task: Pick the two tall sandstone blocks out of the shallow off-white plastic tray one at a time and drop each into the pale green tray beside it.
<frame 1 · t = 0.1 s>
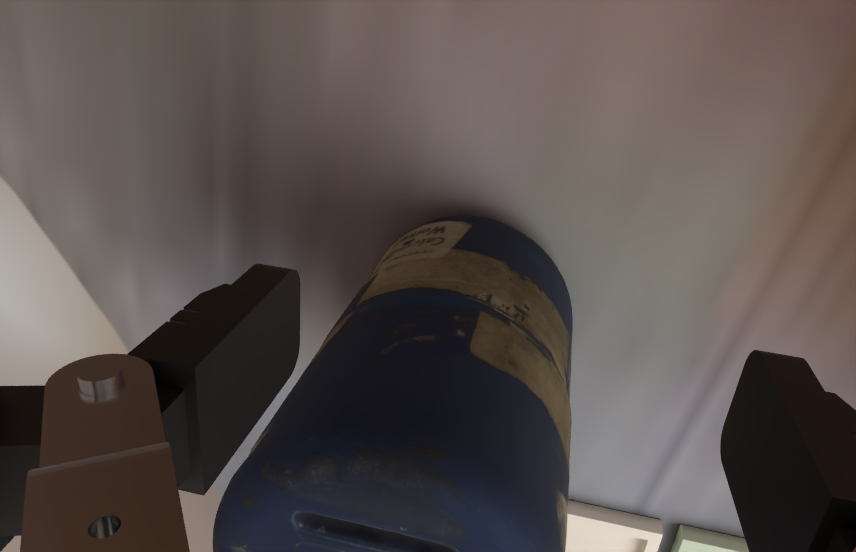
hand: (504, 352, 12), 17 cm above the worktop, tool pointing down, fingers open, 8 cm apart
canister: (471, 297, 31), on the worktop
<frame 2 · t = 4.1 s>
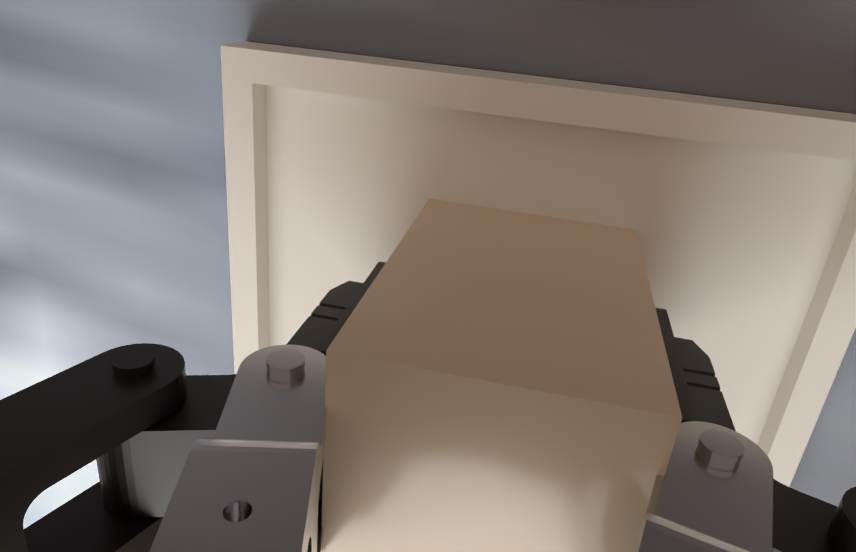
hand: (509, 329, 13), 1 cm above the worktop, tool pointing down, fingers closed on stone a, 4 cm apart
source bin: (492, 446, 16), on the worktop
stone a: (515, 305, 14), resting on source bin, touching gripper
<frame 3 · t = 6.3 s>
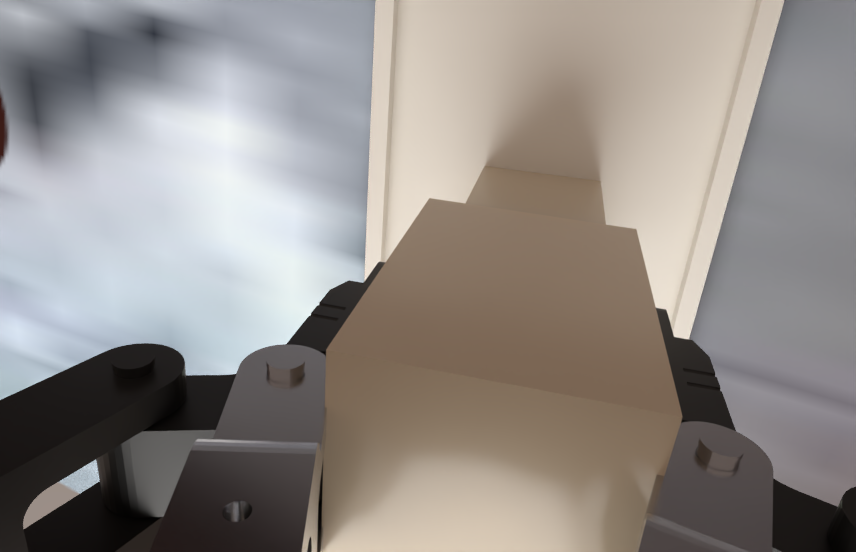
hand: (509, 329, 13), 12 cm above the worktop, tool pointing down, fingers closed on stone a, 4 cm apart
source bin: (546, 142, 23), on the worktop
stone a: (515, 304, 14), point 11 cm above the worktop, touching gripper
stone b: (533, 227, 23), resting on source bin
when the fingers open (3 cm above the worktop, at t = 8.8 s): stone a drops 1 cm, resting on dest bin.
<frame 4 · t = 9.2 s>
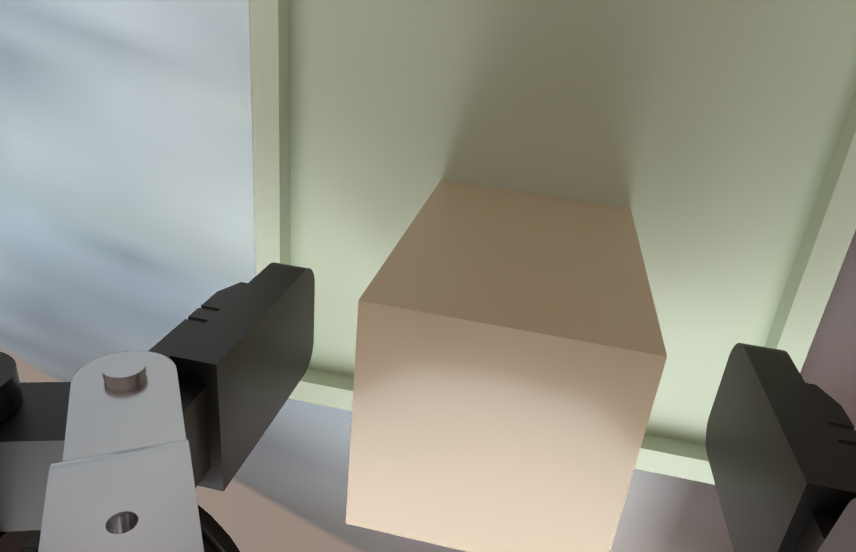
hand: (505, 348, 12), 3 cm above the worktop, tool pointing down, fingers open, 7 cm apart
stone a: (519, 279, 15), resting on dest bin
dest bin: (541, 143, 14), on the worktop
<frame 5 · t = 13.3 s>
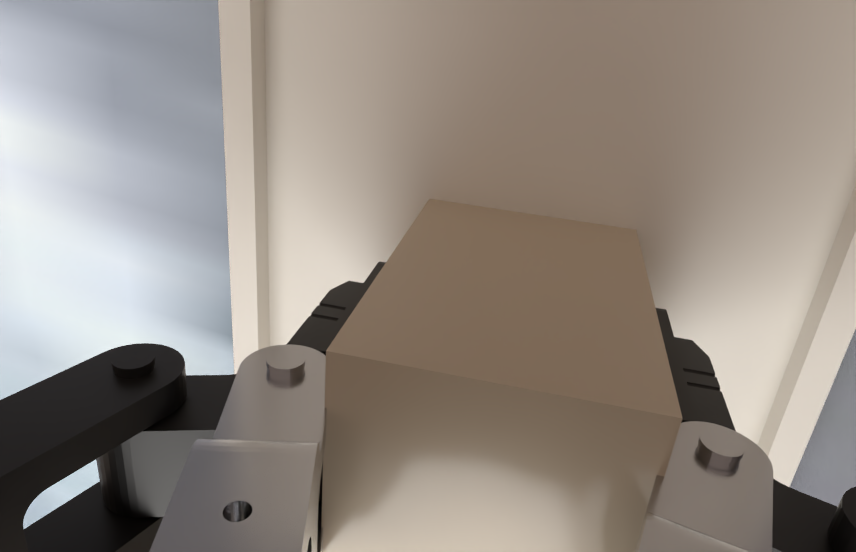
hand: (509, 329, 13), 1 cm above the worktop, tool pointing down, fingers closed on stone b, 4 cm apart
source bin: (539, 158, 13), on the worktop
stone b: (515, 305, 14), resting on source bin, touching gripper
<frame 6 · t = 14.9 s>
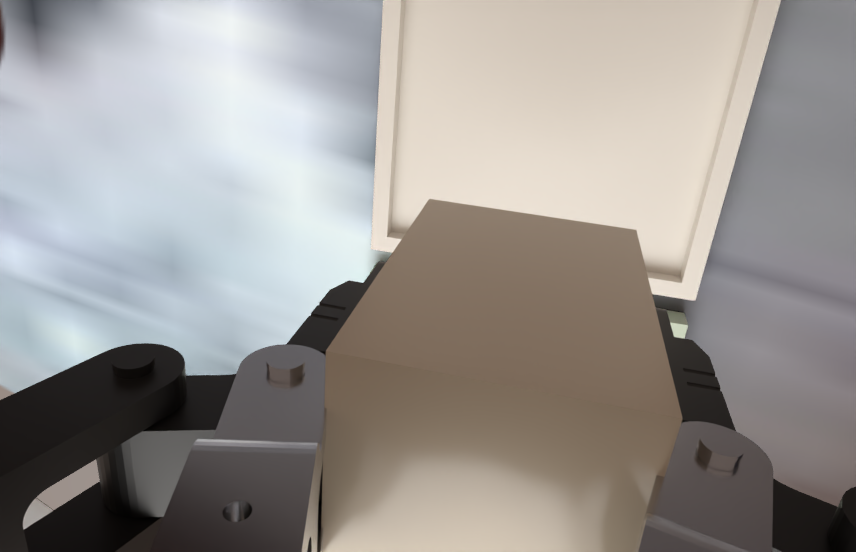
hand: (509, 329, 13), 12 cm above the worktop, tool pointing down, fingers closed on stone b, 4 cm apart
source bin: (566, 28, 22), on the worktop
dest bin: (501, 431, 29), on the worktop
stone b: (515, 305, 14), point 11 cm above the worktop, touching gripper
when the fingers open (3 cm above the worktop, at t = 16.6 s): stone b drops 1 cm, resting on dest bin.
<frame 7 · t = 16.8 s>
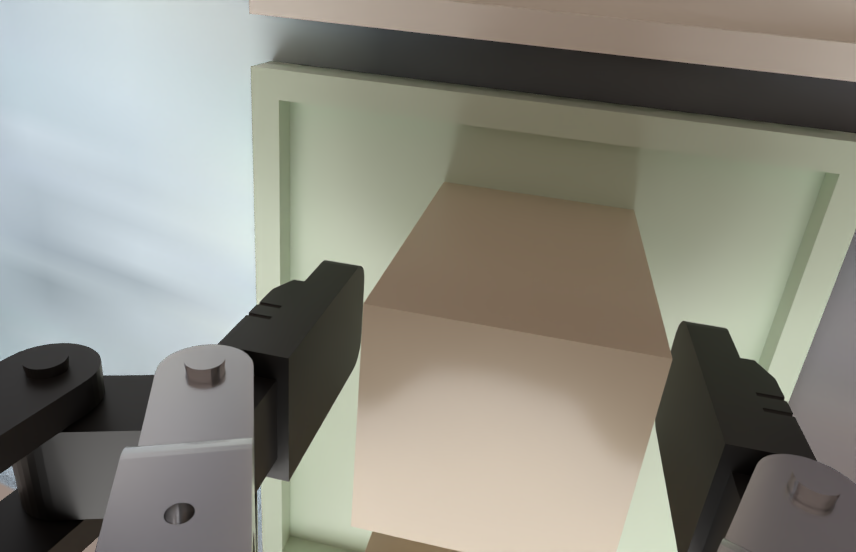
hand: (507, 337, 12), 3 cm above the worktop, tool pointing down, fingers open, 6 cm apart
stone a: (485, 485, 17), resting on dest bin
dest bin: (502, 382, 16), on the worktop
stone b: (522, 281, 15), resting on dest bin
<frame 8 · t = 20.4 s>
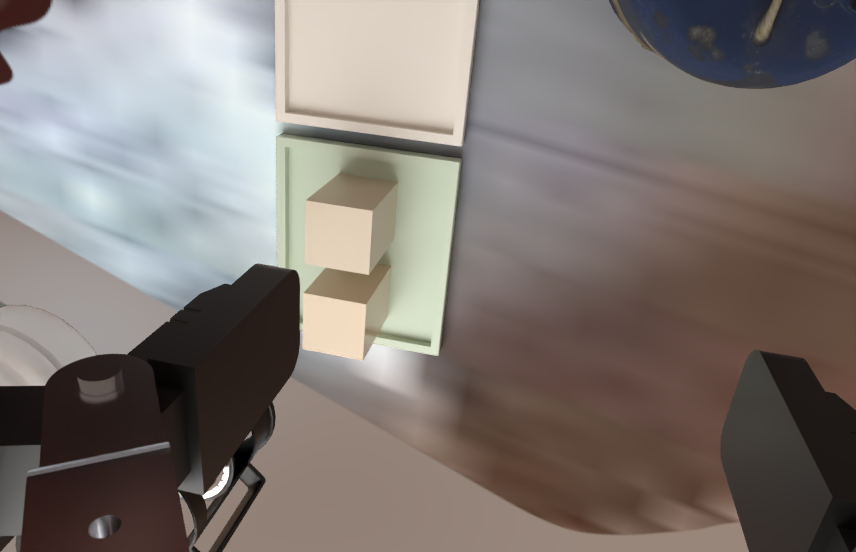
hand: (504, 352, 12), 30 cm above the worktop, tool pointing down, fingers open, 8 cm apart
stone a: (361, 287, 46), resting on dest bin
french press: (227, 409, 54), on the worktop
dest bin: (365, 246, 45), on the worktop
stone b: (366, 206, 44), resting on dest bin
honey pot: (43, 370, 57), on the worktop
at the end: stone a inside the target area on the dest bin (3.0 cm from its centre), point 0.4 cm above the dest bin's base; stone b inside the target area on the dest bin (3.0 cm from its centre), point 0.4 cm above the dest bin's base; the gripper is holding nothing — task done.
